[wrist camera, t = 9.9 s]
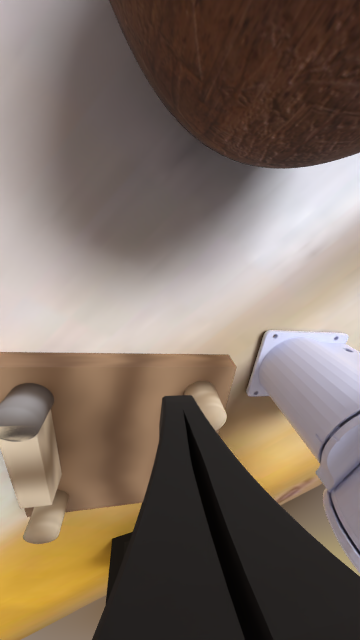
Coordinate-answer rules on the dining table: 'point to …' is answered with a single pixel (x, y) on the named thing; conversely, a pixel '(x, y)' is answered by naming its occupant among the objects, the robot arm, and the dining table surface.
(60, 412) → the stool seat
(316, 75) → the wooden sphere
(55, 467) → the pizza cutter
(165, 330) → the dining table surface
